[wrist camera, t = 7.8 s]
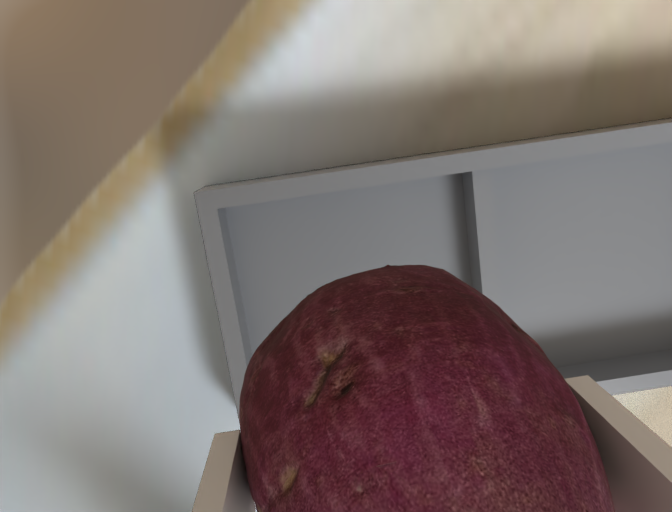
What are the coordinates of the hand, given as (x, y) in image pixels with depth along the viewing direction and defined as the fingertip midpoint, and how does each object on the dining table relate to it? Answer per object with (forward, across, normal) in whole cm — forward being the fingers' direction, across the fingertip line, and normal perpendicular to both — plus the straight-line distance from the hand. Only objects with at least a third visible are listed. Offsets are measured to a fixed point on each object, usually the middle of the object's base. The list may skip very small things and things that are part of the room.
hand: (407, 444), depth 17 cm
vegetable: (+2, 0, 0) cm, 2 cm away
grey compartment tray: (+17, -7, 0) cm, 19 cm away
